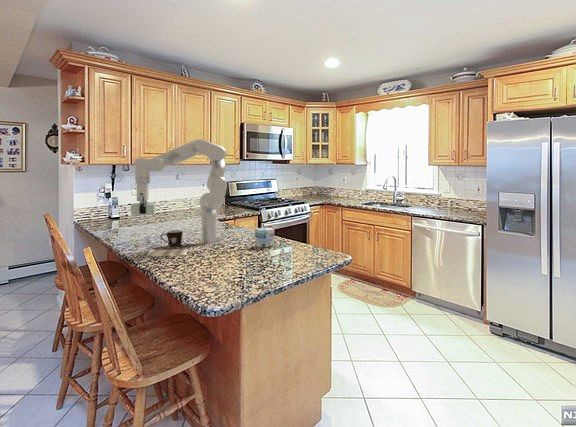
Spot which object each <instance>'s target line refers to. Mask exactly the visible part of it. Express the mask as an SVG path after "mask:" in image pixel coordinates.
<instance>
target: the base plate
mask: <svg viewBox="0 0 576 427" xmlns="http://www.w3.org/2000/svg"><path fill="white" fill-rule="evenodd" d="M187 254H188V248H180V249H179V248H178V249H177V248H175V249H150V250H149V251H148V252H147V254H146V257H168V256H170V257H171V256H187Z"/></svg>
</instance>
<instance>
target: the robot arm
mask: <svg viewBox="0 0 576 427" xmlns="http://www.w3.org/2000/svg"><path fill="white" fill-rule="evenodd" d="M198 155H203V156H206V157H207V158H208V160H209V161H210V163H211V164H210V165H211V166H210V167H211V168H210V170H209V171H210V172H209V175H208V178H207V181H206V188H207V189H208V190H209V192H205V193H204V194H202V195H201V197H200V199H199V205H200V216H201V218H200V220H201V222H200V223H201V224H200V225H201V229H200V230H201V240H200V241H198V244H199V245H204V244H212V245H213V246H215V245H219V244H220V243H221V242H220V241H225V240H226V239H225V236H224V237H223V236H218V212H217V210H218V209H219V208H220V209H221V207H222V205H223V201H224V199H225V196H226V194H227V188H228V183H227V179H226V178H224V177H225V172H226V163H225V160H224V159H225V158H226V157H227V152H226V149H225V148H224V147H223V146H222V145H221V146H220V145H219V144H216V143H213V142H211V141H208V140H205V139H202V138H199V139H194V140H191V141H189V142H187V143H184V144H182V145H180V146H177V147H175V148H172V149H171V150H168V151H166V152H164V153H161V154H158V155H157V156H155V157H151V158H147V157H145V158H143V157H139V158H138V157H137V158H135V159H134V180H135V184H136V201H137V202H139V203H140V204H139V211H140V214H146V206H145V205H146V204H147V203H148V200H149V184H151V178H150V177H151V174H150V172H157V173H159V172H162V171H164V169H165V168H166V167H168V166H171V165H174V164H179V163H183V162H185V161H187V160H190V159H191V158H193V157H196V156H198Z"/></svg>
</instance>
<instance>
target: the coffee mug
mask: <svg viewBox="0 0 576 427" xmlns="http://www.w3.org/2000/svg"><path fill="white" fill-rule="evenodd" d="M166 232H167V233H161V234H160V238H161V240H162V241H163V242H165V243H167V244H168V246H169V247H170V248H175V247H181V246H182V240H183V230H180V229H171V230H167V231H166ZM163 235H166V237H167V240H165V239H164V238H163V237H162V236H163Z"/></svg>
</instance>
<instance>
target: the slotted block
mask: <svg viewBox="0 0 576 427" xmlns="http://www.w3.org/2000/svg"><path fill="white" fill-rule="evenodd" d="M139 204H140V202H139V203H130V215H131V216H155V215H156V214H157V213H156V212H157V211H156V208H157V207H156V203H149V202H147V204H146V205H145V206H146V214H140V211H139Z"/></svg>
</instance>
